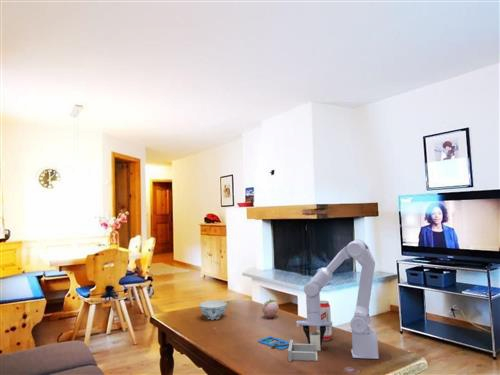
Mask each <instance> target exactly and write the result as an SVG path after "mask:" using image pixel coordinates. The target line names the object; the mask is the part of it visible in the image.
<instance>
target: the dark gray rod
mask: <svg viewBox="0 0 500 375" xmlns="http://www.w3.org/2000/svg"><path fill="white" fill-rule="evenodd" d="M293 343H294V344H297V343H295V342H293ZM282 346H289V344H283V345H273V346H271V347H270V348H271V349H276V347H282Z"/></svg>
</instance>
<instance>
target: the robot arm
mask: <svg viewBox="0 0 500 375" xmlns="http://www.w3.org/2000/svg"><path fill="white" fill-rule="evenodd" d="M351 258H353V260H355V261H356V262H358V264H359V265H360V267H361V270H360V277H359V284H358V290H357V299H356V306H355V309H354V314H353V317H352V318H351V320H350V328H351V342H352V343H351V344H352V348H350V352H351V355H352V358H353V359H372V360H373V359H375V360H377V359H380V357H379V344H378V336H377V335H378V334H377V331H374V330H371V328H370V326H369V325H370V323H371V317H370V302H371V295H372V290H373V288H372V287H373V281H374V275H375V274H374V273H375V268H376V261H375V259H374V257H373V255H372V253H371V251H370V247H369V245H368V244H367V243H365V241H363V240H361V239H355V240H352V241H349V243H348V244H347V245H346V246H344V247H343V248H342V249H340V251H339V252H338V253H337V254H336V255H335V256H334V257H333V259H332V260H331V261H330V262H329V264H328V265H327V266H326V267H320V268H318V269H317V270H316V273H315V275H314V276H313V277H310V279H309V282H307V283H305V285H304V288H303V291H304V294H305V299H306V300H305V301H306V302H305V304H306V305H305V306H306V319H305V320H296V327H297V328H299V327H302V329H303V332H304V334H305V336H306V339H307V344H310V332H311V331H310V327H311V328H312V327H314V328H315V327H316V328H317V327H320V347H321V346H323V341H322V340H323V336H324V334H325V331H326V327H331V328H333V321H332V320H331V321H323V320H321V308H320V301H321V297H320V295H321V294H320V293H321V292H322V289H323V288H324V287H325V286H327V284H328V283H329V282H330V281H331V280H332V279H333V273H334V272H335V270H336V269H337V268H338V267H339V266H340V265H342V263H343V262H345V260H349V259H351Z"/></svg>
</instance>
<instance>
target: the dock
mask: <svg viewBox="0 0 500 375" xmlns="http://www.w3.org/2000/svg"><path fill="white" fill-rule="evenodd" d="M289 342H290V343H289V348H287V356H288V357H287V360H288V362H289V363H291V362H293V361H295V362H296V361H298V362H300V361H301V362H302V361H303V362H318V351H316V346H315V344H308V343H296V344H294V343H295V342H294V340H293V339H290V340H289Z"/></svg>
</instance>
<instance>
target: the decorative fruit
mask: <svg viewBox="0 0 500 375" xmlns="http://www.w3.org/2000/svg"><path fill="white" fill-rule="evenodd" d="M279 308H280V307H279V305H278V303H277V300H275V299H269V300H267V301H264V302H263V304H262V306H261V309H262V313H263V314H264V315H265V316H266V317H268V318H270V319H271V318H273V317H275V316H276V314H278V311H279Z"/></svg>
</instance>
